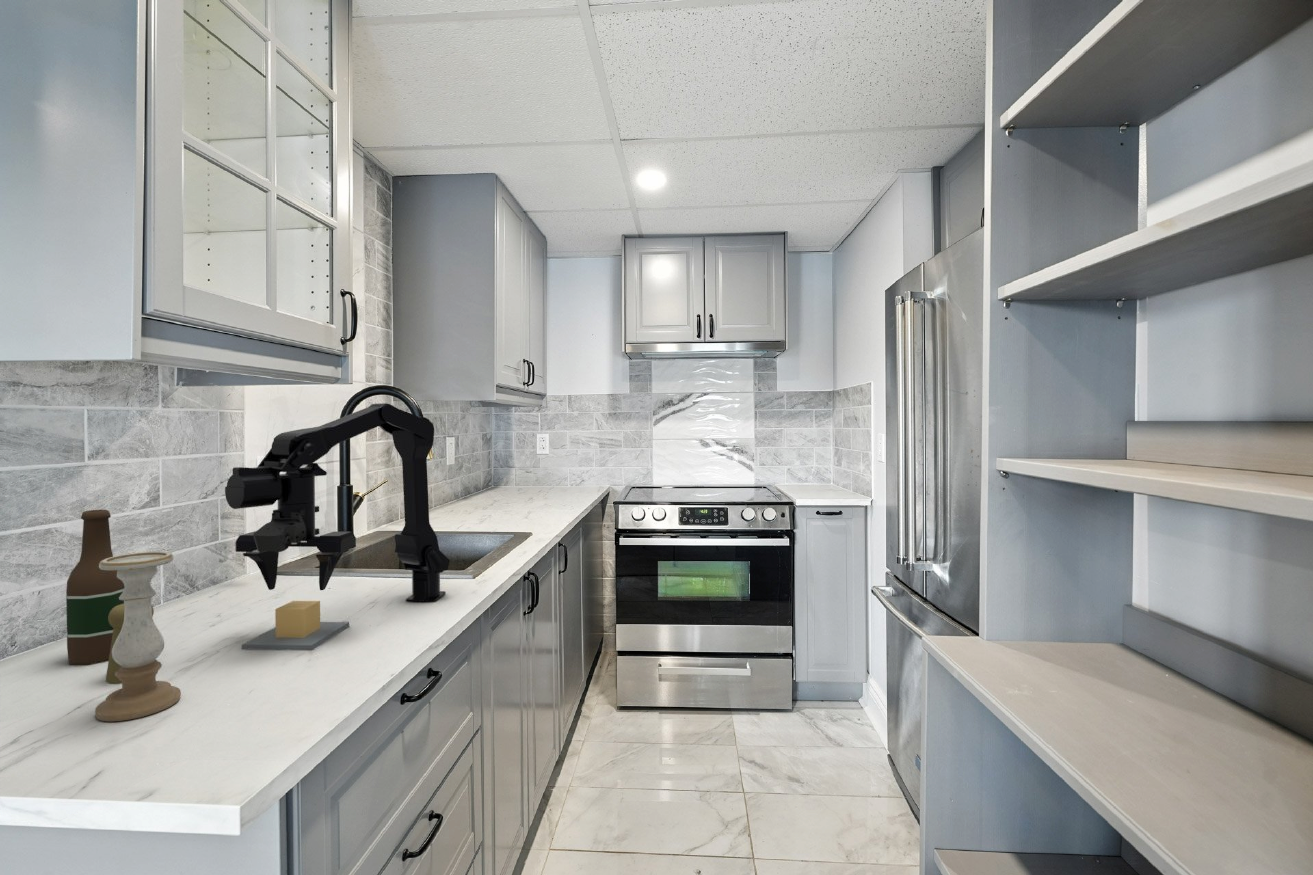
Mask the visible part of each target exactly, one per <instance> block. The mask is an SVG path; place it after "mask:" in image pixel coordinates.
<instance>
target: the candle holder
mask: <svg viewBox="0 0 1313 875" xmlns="http://www.w3.org/2000/svg"><path fill="white" fill-rule="evenodd" d="M173 561H174V554H173V553H172V552H169V551H144V552H132V553H125V554H120V555H113V557H109V558H106V559H103V560H101V561H100V563H99V568H100V569H102V570H107V571H117V578H118V579H120V580H121V581H122V582H123V583H124V586H125V589H124V591H123V593H122V594H121V595H120V597H119V600H122V601H124V607H125V609H124V622H123V626H122V629H121V631H120V633H119V635H118V637H117V639H116V640H115V643H114V645H113V648H112V658H113V659H114V661H115V662H116V663H117V664H119V665H121V667H120V669H118V670H117V671H116V673H115V676H116V677H118V678H119V679H120V681H121V682H122V683H121V688H119V689H117V690H115V691H113V692H111V693H109V694H108V695H107V696H106V698H105V700H103V701H102V702H100V703H98V705H97V706H96V707H95V710H94V715H95V718H96V719H97V720H99V721H102V722H121V721H123V722H124V721H130V720H134V719H139V718H143V717H147V716H150V715H153V714H157V713H159V712H163V710H164V711H165V710H166V709H168V708H170V707H172V706H174V705H175V704H177V703H178V702H179V701H180V698H181V696H182V694H181V693H182V692H181V689H180V688H179V687H178V686H173V685H172V684H171V683H170V682H168V681H164V680H156V679H157V674H158V672H159V671H160V669H162V667H163V664H162V662H161V661H159V660H158V658H159V656H160V655H161V654H162V653H163V651H164V649H165V639H164V637H163V635H162V633H161V631H160V630H159V628H158V626H157V625H156V624H155V621H154V618H153V617H152V610H151V605H152V599H153V597H154V596H156V595H157V591H156V590H154V588H153V587H152V585H151V584H152V580H153V578H154V577H155V576H156V575H157V573H158V572H159V571H158V567H159V566H163V565H166V564H169V563H171V562H173Z"/></svg>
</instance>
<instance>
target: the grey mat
mask: <svg viewBox="0 0 1313 875" xmlns="http://www.w3.org/2000/svg"><path fill="white" fill-rule="evenodd" d="M349 627H350V622H349V621H320V629H318V630H316V631H315V632H313V633H311V634H309V635H308V636H306V637H304V638H280V637H276V626H275V627H273V628H271V629H269V630H267V631H265V632H263V633H261V634H260V635H257V636H256V637H254V638H252V639H250V640H248V641H246V642H244V643H242V644H241V649H242V650H282V649H300V651H302V650H303V649H306V650H305V651H308V650H309V651H311V650H314V649H315V648H317V647H319V646H320V645H322V644H323V643H325V642H327V641H328V640H329V639H331V638H333V637H334V636H336V635H338V634H339V633H341V632H342V631H344V630H345V629H348V628H349ZM303 651H304V650H303Z"/></svg>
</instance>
